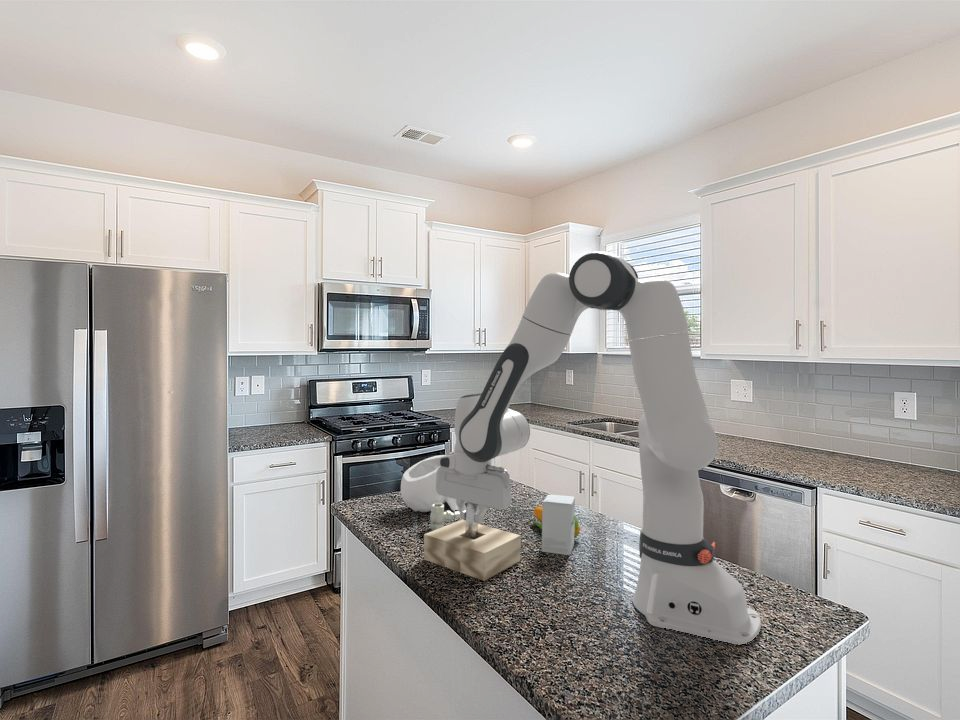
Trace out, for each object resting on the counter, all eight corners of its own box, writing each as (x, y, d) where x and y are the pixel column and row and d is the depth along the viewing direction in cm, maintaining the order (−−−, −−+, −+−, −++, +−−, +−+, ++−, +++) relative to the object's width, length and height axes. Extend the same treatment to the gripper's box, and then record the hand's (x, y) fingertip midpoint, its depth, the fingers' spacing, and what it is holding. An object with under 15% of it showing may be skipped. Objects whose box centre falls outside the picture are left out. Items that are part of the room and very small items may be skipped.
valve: (433, 533, 141) (474, 528, 145) (434, 509, 141) (475, 504, 145) (426, 526, 147) (466, 521, 152) (426, 502, 147) (466, 498, 151)
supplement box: (571, 556, 126) (571, 504, 126) (540, 552, 128) (541, 501, 128) (575, 545, 133) (575, 496, 133) (546, 541, 136) (547, 493, 135)
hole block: (520, 560, 123) (520, 535, 123) (484, 580, 112) (484, 553, 112) (462, 542, 134) (462, 519, 134) (423, 559, 123) (424, 534, 123)
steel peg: (480, 542, 123) (481, 499, 123) (472, 545, 121) (474, 502, 121) (470, 539, 125) (471, 497, 125) (462, 542, 123) (464, 499, 123)
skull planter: (484, 502, 163) (459, 451, 158) (432, 542, 154) (404, 489, 150) (463, 492, 175) (439, 444, 170) (414, 528, 166) (387, 478, 161)
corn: (564, 516, 132) (523, 496, 150) (562, 546, 132) (521, 523, 150) (588, 514, 135) (545, 495, 153) (586, 544, 135) (543, 521, 153)
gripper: (517, 466, 119) (516, 526, 119) (449, 454, 131) (448, 508, 132) (500, 471, 114) (499, 534, 114) (432, 458, 126) (431, 514, 127)
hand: (471, 520), depth 123 cm, fingers closed on steel peg, 3 cm apart
